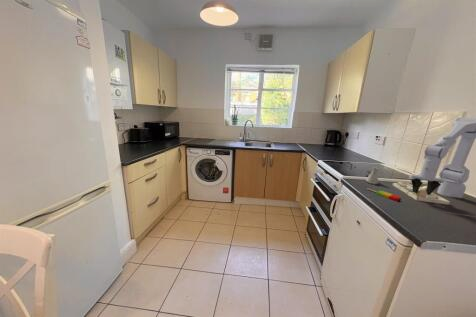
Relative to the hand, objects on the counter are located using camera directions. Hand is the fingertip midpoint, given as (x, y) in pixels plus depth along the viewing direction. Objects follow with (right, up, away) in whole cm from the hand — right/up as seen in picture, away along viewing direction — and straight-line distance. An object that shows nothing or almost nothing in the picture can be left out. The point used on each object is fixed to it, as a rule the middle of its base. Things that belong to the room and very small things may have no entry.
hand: (421, 193), depth 98 cm
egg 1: (0, -3, +1) cm, 3 cm away
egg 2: (+8, -2, +6) cm, 10 cm away
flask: (-11, +3, +21) cm, 24 cm away
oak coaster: (+12, +1, +22) cm, 25 cm away
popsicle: (-19, -2, +3) cm, 19 cm away
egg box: (+4, -2, +7) cm, 8 cm away
